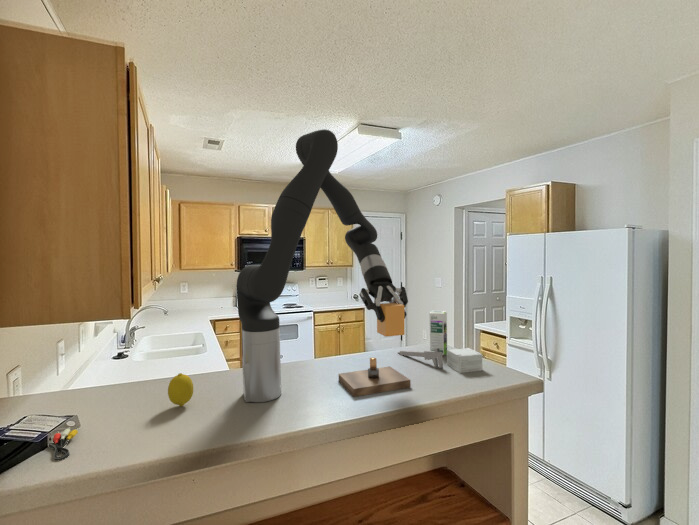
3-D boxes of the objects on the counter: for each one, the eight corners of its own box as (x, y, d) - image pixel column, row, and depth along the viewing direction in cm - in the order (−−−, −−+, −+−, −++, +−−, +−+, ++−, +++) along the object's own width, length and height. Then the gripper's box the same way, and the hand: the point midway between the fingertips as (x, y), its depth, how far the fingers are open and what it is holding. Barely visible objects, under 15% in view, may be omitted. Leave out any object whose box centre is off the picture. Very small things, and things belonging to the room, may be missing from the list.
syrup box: (429, 354, 125) (429, 312, 124) (431, 349, 130) (430, 309, 130) (446, 355, 123) (446, 313, 123) (447, 350, 129) (447, 310, 128)
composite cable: (69, 460, 65) (68, 446, 65) (35, 468, 63) (34, 454, 63) (79, 435, 74) (79, 423, 74) (49, 442, 72) (49, 429, 72)
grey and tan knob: (370, 379, 96) (370, 360, 96) (366, 375, 99) (365, 357, 99) (380, 377, 97) (380, 359, 97) (376, 374, 100) (375, 356, 100)
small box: (469, 363, 115) (468, 347, 115) (483, 371, 107) (483, 354, 107) (446, 365, 113) (446, 349, 113) (459, 373, 106) (458, 356, 106)
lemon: (169, 403, 88) (168, 371, 88) (194, 400, 90) (193, 368, 90) (167, 413, 83) (165, 378, 83) (193, 409, 85) (192, 375, 85)
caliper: (443, 369, 110) (442, 348, 110) (440, 370, 109) (440, 349, 109) (399, 353, 127) (399, 336, 127) (397, 354, 127) (396, 336, 127)
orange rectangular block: (385, 336, 96) (385, 306, 96) (377, 332, 101) (376, 303, 101) (404, 334, 98) (404, 305, 97) (395, 330, 103) (395, 302, 103)
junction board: (354, 396, 90) (353, 388, 90) (338, 380, 101) (338, 373, 101) (410, 387, 96) (410, 379, 95) (390, 373, 107) (389, 366, 107)
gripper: (356, 264, 103) (372, 312, 92) (400, 264, 108) (421, 309, 97) (349, 282, 109) (365, 329, 98) (393, 280, 113) (412, 325, 102)
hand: (393, 319), depth 98 cm, fingers closed on orange rectangular block, 5 cm apart
